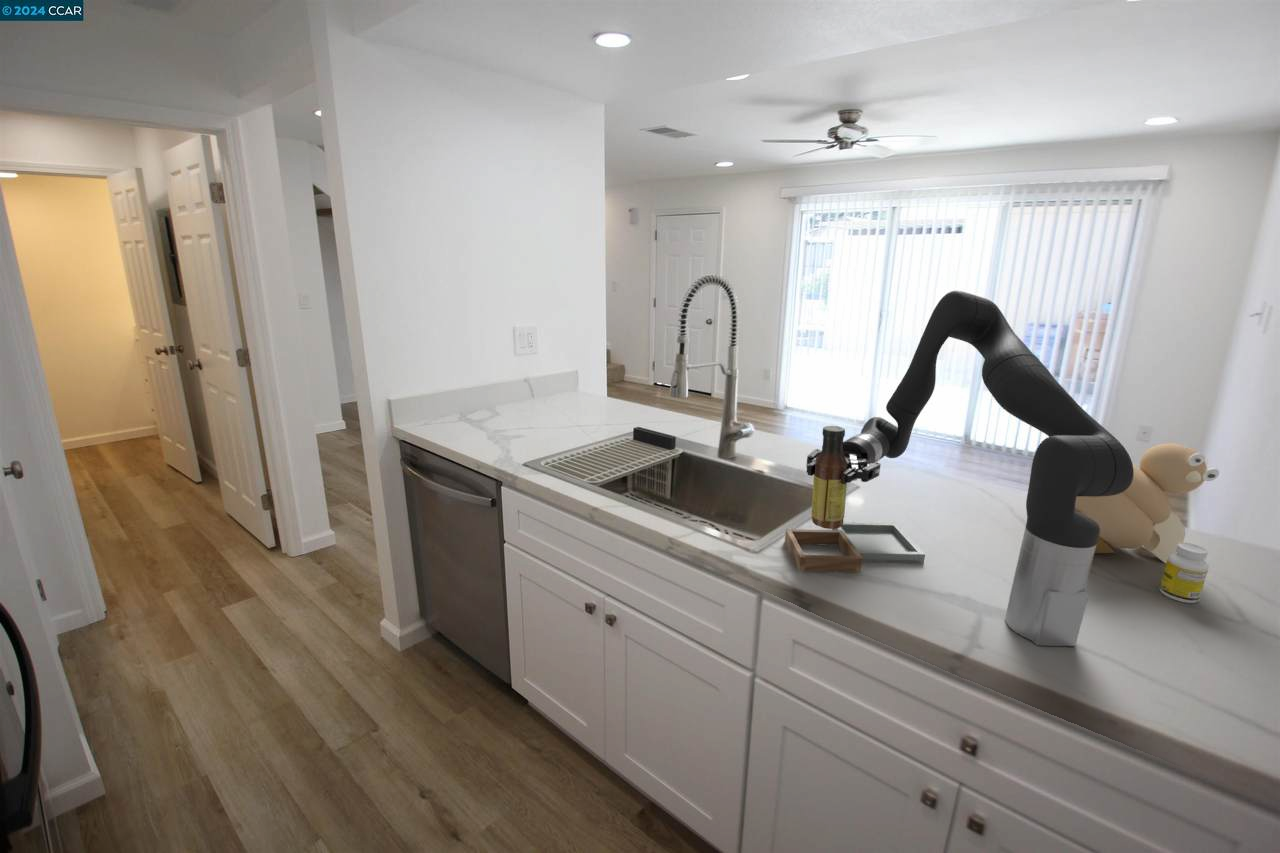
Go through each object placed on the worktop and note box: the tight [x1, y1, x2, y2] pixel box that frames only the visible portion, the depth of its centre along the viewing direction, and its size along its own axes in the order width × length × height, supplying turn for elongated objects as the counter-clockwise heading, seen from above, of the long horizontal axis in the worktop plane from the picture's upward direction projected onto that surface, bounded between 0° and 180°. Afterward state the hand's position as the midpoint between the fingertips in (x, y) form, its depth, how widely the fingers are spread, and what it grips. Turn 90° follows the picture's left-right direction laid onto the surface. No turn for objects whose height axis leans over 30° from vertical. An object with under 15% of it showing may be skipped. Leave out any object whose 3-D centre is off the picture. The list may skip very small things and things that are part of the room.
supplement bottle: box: [1158, 542, 1210, 604], centre depth 104 cm, size 5×5×10 cm
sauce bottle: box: [811, 425, 848, 530], centre depth 112 cm, size 6×6×20 cm
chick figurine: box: [1075, 442, 1220, 564], centre depth 120 cm, size 30×28×23 cm
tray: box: [831, 521, 926, 564], centre depth 122 cm, size 14×14×2 cm
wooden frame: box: [784, 528, 864, 573], centre depth 117 cm, size 12×12×3 cm
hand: (826, 474), depth 110 cm, fingers closed on sauce bottle, 6 cm apart
